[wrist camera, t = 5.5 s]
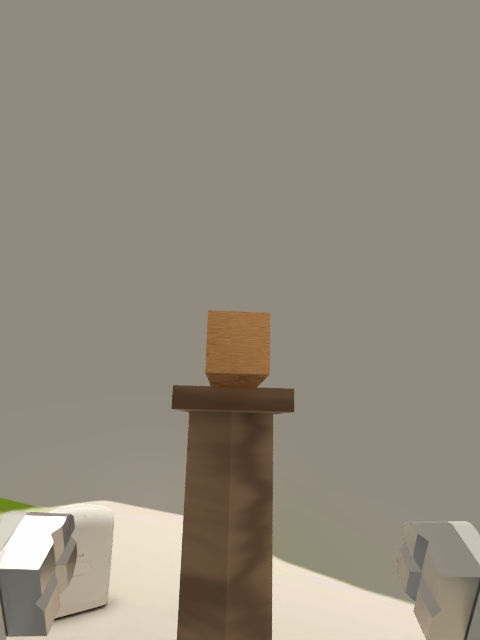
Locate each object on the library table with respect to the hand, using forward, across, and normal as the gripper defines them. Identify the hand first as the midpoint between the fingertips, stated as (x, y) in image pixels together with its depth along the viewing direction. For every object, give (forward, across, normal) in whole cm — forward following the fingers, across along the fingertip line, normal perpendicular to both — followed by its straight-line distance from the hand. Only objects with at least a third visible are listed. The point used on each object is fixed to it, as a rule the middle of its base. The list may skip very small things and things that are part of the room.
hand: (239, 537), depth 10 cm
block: (+19, 0, +5) cm, 20 cm away
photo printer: (+31, +20, +43) cm, 56 cm away
